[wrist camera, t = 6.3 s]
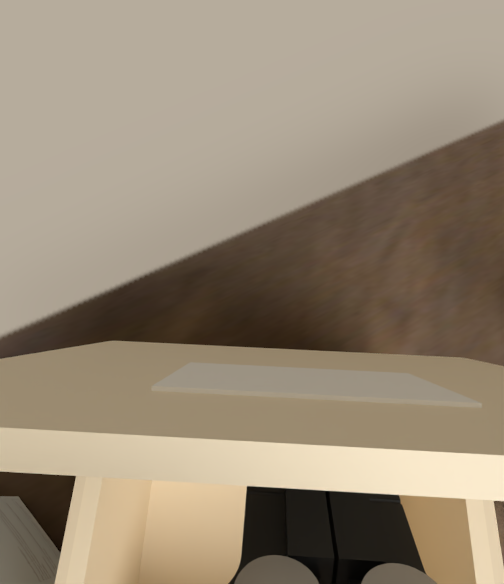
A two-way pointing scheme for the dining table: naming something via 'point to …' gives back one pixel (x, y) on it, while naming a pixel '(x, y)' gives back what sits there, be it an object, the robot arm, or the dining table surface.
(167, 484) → the carton
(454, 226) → the dining table surface
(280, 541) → the robot arm
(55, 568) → the supplement box
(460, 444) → the top flap
